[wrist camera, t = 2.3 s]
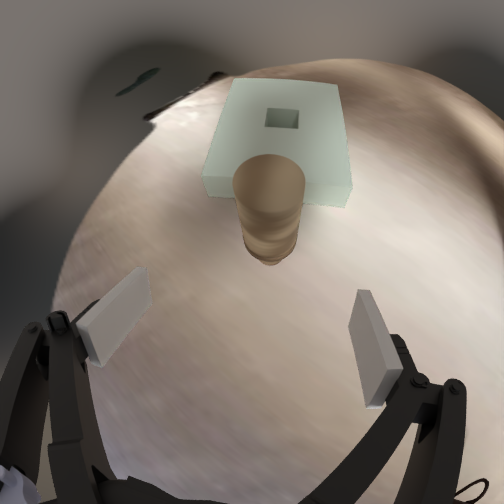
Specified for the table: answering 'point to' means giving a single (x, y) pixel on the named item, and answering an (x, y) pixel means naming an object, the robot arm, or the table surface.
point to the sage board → (283, 136)
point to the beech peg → (269, 205)
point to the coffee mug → (470, 503)
